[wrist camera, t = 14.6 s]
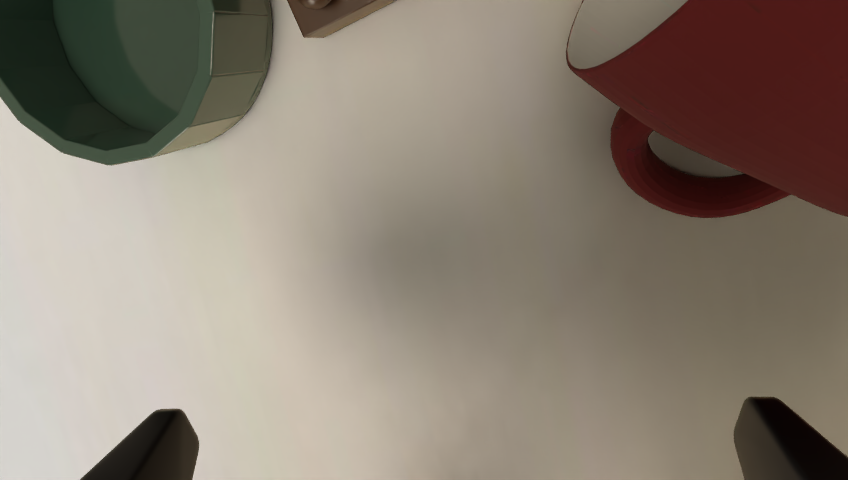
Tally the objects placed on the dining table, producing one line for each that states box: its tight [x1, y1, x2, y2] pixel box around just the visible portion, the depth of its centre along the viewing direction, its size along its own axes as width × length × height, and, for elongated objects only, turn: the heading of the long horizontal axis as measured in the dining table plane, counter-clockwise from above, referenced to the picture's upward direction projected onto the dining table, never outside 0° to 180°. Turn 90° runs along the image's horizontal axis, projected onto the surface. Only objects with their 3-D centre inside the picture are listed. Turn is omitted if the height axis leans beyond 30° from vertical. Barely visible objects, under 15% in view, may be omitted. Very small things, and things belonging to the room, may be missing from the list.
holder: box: [0, 0, 272, 166], centre depth 19 cm, size 9×9×4 cm
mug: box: [566, 0, 848, 218], centre depth 13 cm, size 11×8×10 cm
